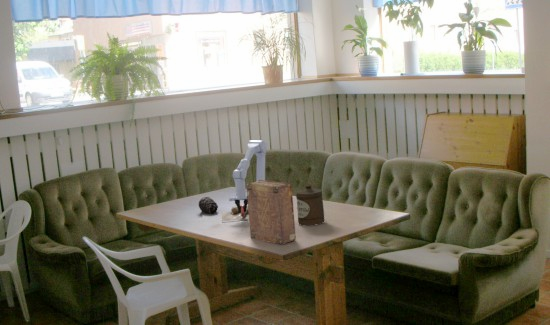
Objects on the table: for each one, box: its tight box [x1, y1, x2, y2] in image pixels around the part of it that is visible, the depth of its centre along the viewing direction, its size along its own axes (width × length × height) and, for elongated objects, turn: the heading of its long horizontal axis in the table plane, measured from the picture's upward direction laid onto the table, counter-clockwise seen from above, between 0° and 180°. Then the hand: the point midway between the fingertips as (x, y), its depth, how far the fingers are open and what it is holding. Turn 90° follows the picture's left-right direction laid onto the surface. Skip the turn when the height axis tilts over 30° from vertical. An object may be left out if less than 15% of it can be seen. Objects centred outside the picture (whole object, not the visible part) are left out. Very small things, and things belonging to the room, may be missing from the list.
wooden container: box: [295, 183, 326, 226], centre depth 405 cm, size 15×15×22 cm
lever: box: [240, 204, 248, 216], centre depth 435 cm, size 18×4×6 cm, turn 175°
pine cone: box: [198, 196, 219, 215], centre depth 452 cm, size 10×18×10 cm, turn 32°
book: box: [245, 179, 297, 245], centre depth 375 cm, size 25×9×30 cm, turn 42°
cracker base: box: [221, 205, 249, 223], centre depth 436 cm, size 20×24×4 cm
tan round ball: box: [230, 206, 238, 214], centre depth 441 cm, size 4×4×4 cm
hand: (242, 212), depth 428 cm, fingers closed on lever, 3 cm apart
